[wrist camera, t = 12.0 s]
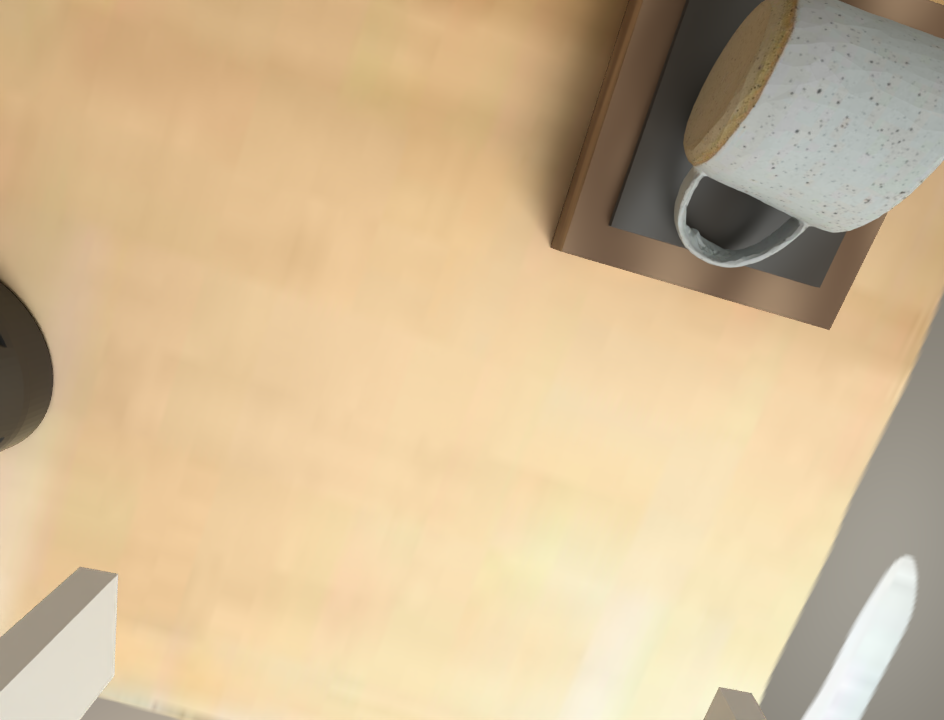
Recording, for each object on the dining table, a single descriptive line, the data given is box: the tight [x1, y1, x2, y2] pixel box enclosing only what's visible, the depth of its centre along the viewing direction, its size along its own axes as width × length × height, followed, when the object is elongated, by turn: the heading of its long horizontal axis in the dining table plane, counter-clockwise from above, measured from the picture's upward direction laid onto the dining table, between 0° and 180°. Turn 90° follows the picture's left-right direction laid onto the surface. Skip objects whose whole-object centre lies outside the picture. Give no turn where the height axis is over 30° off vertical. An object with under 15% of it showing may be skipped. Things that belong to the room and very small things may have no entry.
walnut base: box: [551, 0, 944, 330], centre depth 28 cm, size 16×16×6 cm
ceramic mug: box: [674, 0, 944, 268], centre depth 22 cm, size 11×8×8 cm
